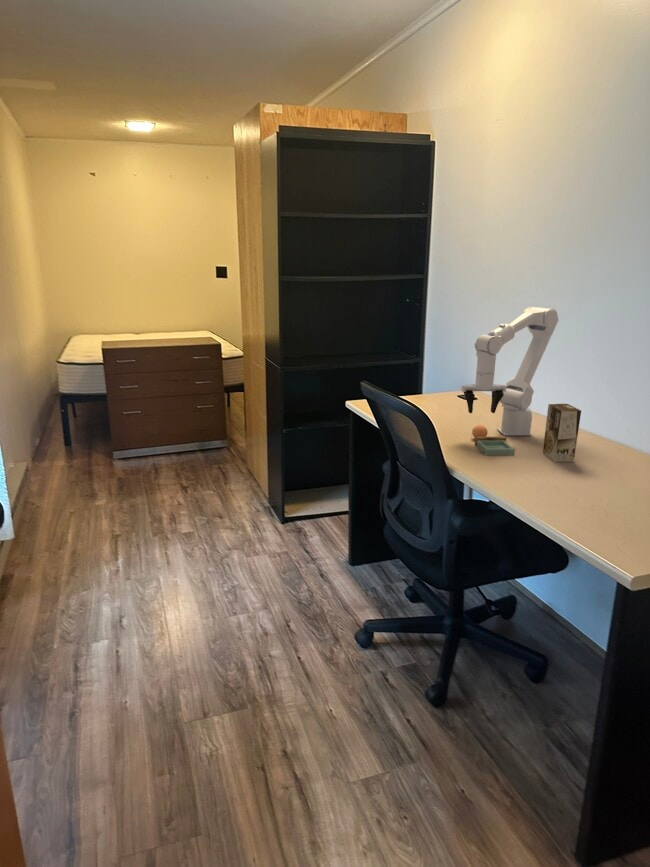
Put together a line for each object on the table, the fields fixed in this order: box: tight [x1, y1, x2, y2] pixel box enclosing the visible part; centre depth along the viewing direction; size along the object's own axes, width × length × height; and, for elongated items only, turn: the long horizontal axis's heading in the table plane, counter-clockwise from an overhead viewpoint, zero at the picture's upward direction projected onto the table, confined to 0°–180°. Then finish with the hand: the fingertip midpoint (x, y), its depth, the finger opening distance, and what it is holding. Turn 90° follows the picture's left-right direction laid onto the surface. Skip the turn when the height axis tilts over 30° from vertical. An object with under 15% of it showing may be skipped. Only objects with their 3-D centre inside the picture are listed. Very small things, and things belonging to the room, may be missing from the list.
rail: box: [474, 436, 508, 446], centre depth 194 cm, size 10×1×2 cm, turn 94°
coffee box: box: [542, 403, 582, 463], centre depth 181 cm, size 9×6×16 cm
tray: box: [476, 440, 515, 456], centre depth 189 cm, size 9×9×2 cm
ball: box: [471, 424, 488, 438], centre depth 199 cm, size 5×5×5 cm
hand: (481, 412), depth 197 cm, fingers open, 7 cm apart
